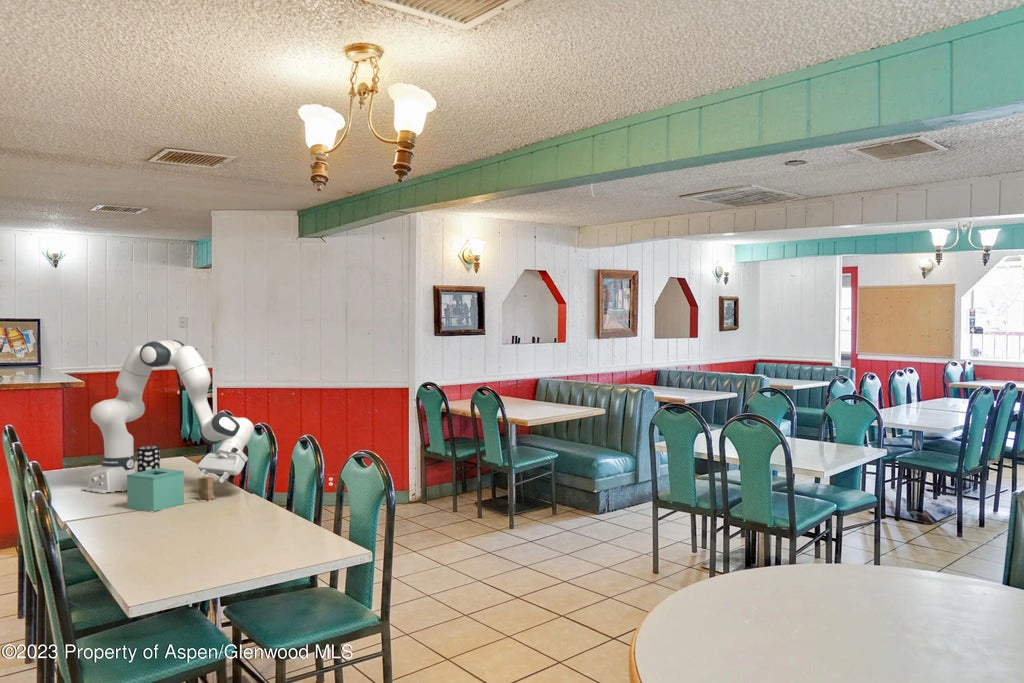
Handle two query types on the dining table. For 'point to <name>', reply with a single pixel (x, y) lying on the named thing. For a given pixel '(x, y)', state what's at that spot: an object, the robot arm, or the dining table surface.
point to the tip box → (155, 489)
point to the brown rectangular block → (205, 488)
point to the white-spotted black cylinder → (148, 458)
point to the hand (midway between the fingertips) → (210, 481)
